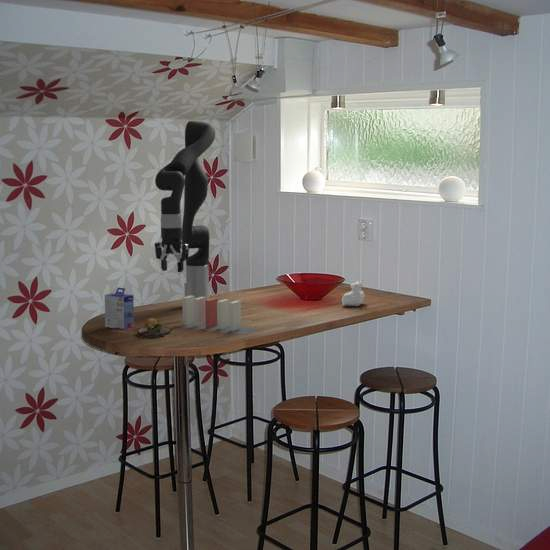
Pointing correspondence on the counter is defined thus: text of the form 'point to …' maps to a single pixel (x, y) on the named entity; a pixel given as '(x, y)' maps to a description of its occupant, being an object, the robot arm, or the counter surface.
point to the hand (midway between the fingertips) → (172, 271)
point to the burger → (152, 329)
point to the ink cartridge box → (119, 310)
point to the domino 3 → (223, 314)
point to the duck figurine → (354, 295)
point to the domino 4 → (234, 315)
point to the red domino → (211, 312)
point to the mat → (242, 330)
